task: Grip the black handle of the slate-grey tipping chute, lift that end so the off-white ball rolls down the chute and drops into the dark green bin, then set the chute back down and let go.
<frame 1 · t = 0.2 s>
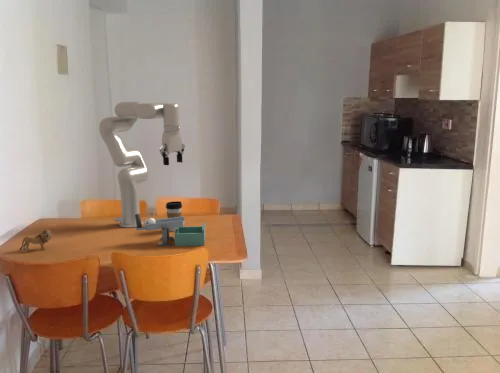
hand: (173, 163, 236), 37 cm above the table, tool pointing down, fingers open, 9 cm apart
lion figurine: (37, 249, 223), on the table
chute stand: (166, 242, 232), on the table
coffee cup: (174, 230, 252), on the table
bin: (190, 241, 233), on the table
ball: (151, 222, 230), point 10 cm above the table, tilted 8°, touching chute
chute: (159, 219, 230), point 11 cm above the table, hinge at -6.0°, touching ball
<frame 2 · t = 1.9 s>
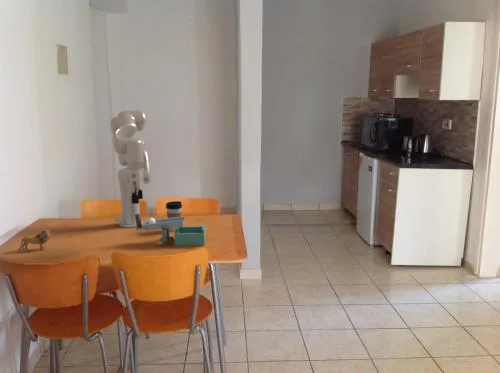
hand: (137, 201, 227), 21 cm above the table, tool pointing down, fingers open, 9 cm apart
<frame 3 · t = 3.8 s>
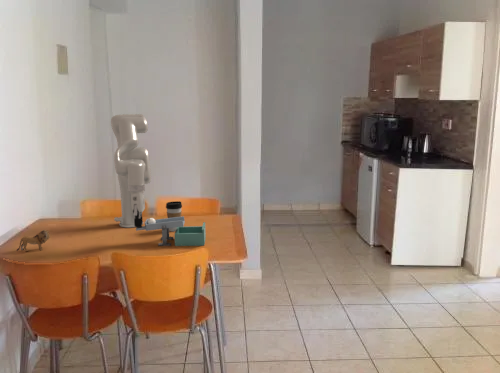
hand: (138, 225, 230), 9 cm above the table, tool pointing down, fingers closed on chute, 2 cm apart
chute: (159, 219, 230), point 11 cm above the table, hinge at -6.0°, touching ball, gripper
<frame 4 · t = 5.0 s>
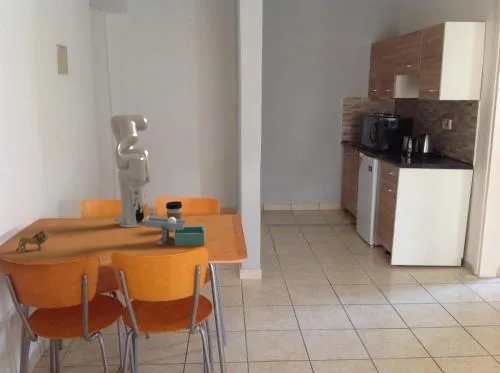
hand: (139, 219, 229), 12 cm above the table, tool pointing down, fingers closed on chute, 2 cm apart
ball: (172, 221, 230), point 11 cm above the table, tilted 82°, touching chute
chute: (160, 218, 229), point 12 cm above the table, hinge at 6.1°, touching ball, gripper
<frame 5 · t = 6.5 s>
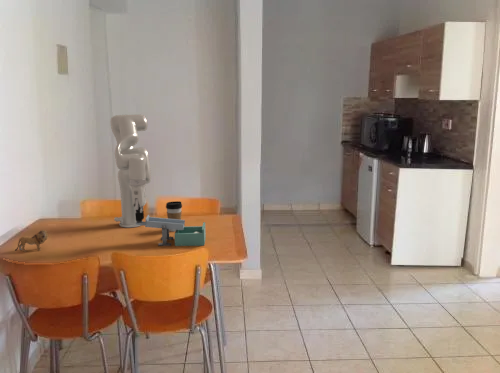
hand: (139, 219, 229), 12 cm above the table, tool pointing down, fingers closed on chute, 2 cm apart
ball: (196, 235, 232), point 3 cm above the table, tilted 97°, touching bin
chute: (160, 218, 229), point 12 cm above the table, hinge at 6.2°, touching gripper
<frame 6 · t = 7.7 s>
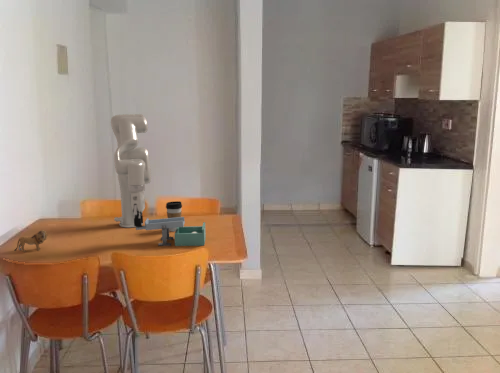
hand: (138, 224, 230), 9 cm above the table, tool pointing down, fingers open, 4 cm apart
ball: (194, 235, 232), point 3 cm above the table, tilted 126°, touching bin
chute: (159, 219, 230), point 12 cm above the table, hinge at -4.5°
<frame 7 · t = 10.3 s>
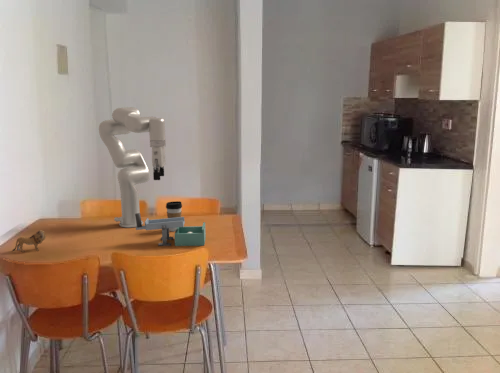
hand: (159, 178, 235), 30 cm above the table, tool pointing down, fingers open, 9 cm apart
ball: (189, 235, 232), point 3 cm above the table, tilted 170°, touching bin
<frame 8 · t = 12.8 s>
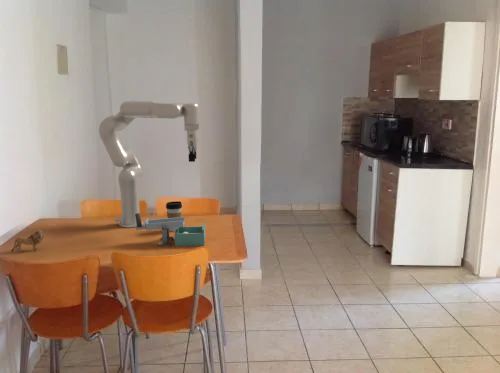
hand: (192, 160, 250), 36 cm above the table, tool pointing down, fingers open, 9 cm apart
ball: (185, 235, 232), point 3 cm above the table, tilted 109°, touching bin
at the end: ball inside the target area on the bin (2.5 cm from its centre), point 3.0 cm above the bin's base; chute at -4° (first picture: -6°) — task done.
